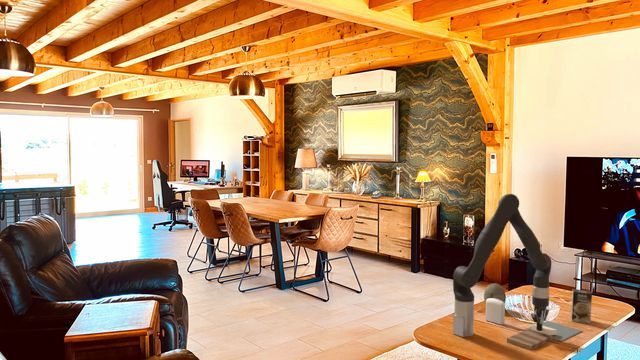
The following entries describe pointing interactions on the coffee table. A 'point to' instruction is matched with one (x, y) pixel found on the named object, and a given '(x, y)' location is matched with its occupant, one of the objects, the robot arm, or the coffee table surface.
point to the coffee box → (581, 306)
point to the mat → (560, 330)
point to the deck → (529, 339)
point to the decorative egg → (494, 292)
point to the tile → (545, 330)
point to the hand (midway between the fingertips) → (539, 330)
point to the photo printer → (495, 311)
